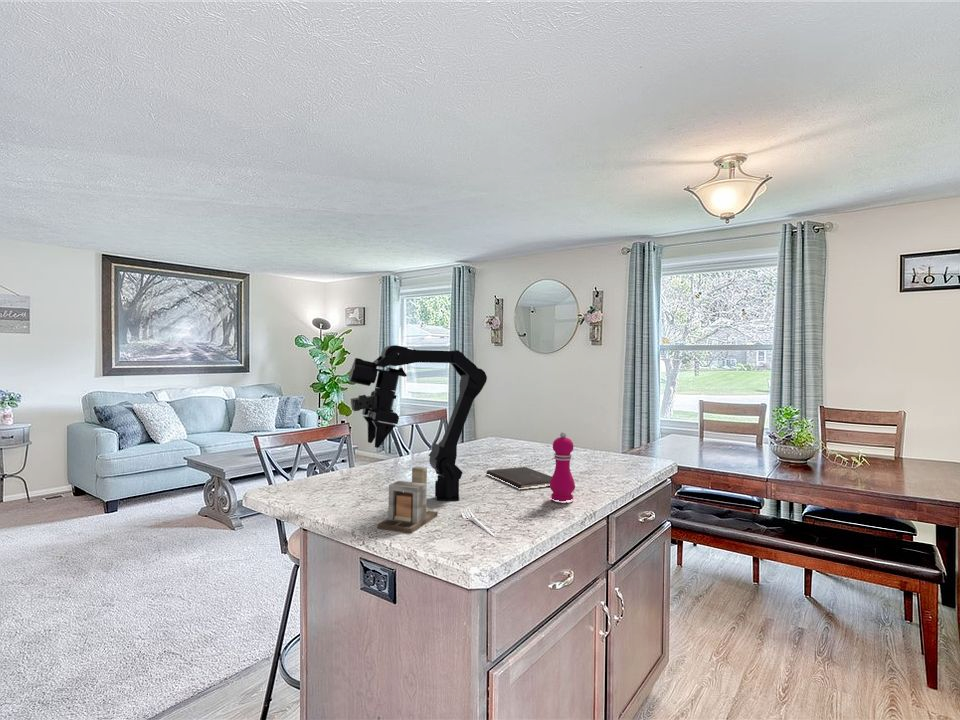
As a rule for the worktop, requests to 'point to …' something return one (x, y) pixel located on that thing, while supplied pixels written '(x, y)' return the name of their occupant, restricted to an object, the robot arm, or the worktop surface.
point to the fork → (474, 520)
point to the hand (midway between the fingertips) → (373, 445)
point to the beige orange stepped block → (409, 496)
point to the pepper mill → (562, 469)
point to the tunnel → (418, 507)
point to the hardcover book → (521, 476)
